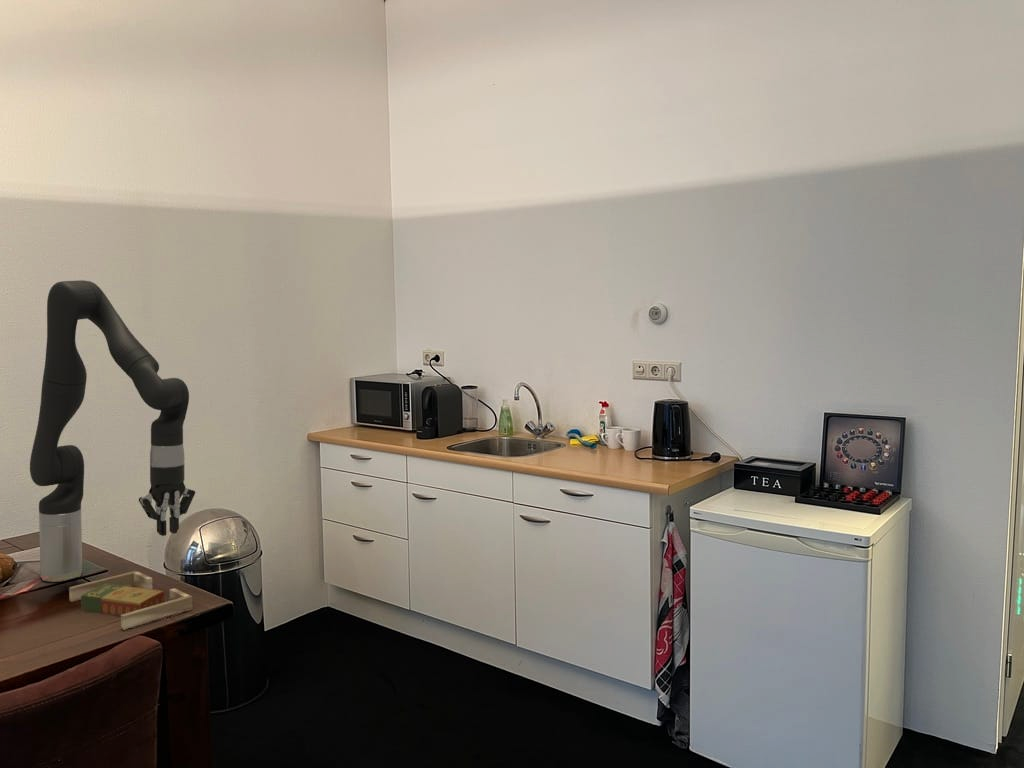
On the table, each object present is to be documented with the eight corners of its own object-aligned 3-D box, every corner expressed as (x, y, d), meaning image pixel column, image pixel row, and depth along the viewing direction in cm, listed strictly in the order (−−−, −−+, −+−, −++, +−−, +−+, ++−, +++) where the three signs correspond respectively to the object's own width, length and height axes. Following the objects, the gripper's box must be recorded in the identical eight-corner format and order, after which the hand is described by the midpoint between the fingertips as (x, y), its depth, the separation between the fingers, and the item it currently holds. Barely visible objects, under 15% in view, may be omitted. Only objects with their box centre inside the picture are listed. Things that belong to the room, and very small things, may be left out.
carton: (140, 621, 181) (139, 602, 180) (80, 611, 185) (79, 593, 184) (165, 607, 189) (164, 589, 188) (106, 598, 193) (106, 581, 192)
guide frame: (69, 600, 190) (69, 587, 189) (136, 583, 202) (136, 570, 202) (123, 630, 174) (123, 616, 174) (192, 609, 187) (192, 596, 187)
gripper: (185, 456, 200) (186, 525, 202) (130, 464, 189) (131, 536, 191) (202, 461, 195) (203, 531, 197) (147, 469, 185) (148, 543, 186)
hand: (167, 533), depth 194 cm, fingers closed
